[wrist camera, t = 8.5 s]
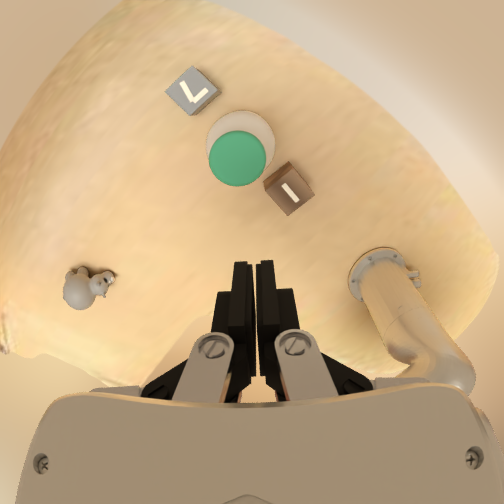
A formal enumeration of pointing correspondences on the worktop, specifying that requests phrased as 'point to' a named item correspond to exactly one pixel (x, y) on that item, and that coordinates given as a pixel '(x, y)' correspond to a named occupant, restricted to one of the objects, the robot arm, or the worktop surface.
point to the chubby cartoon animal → (85, 287)
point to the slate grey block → (192, 91)
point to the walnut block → (288, 189)
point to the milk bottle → (240, 147)
